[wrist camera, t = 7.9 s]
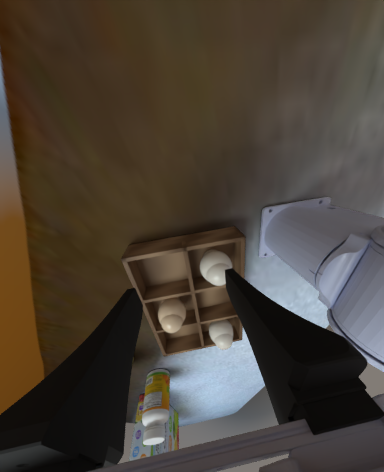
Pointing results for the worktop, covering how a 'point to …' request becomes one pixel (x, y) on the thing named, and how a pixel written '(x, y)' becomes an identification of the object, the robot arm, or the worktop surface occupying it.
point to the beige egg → (172, 314)
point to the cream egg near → (215, 266)
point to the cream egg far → (221, 333)
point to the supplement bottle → (156, 406)
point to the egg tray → (185, 285)
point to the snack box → (149, 450)
